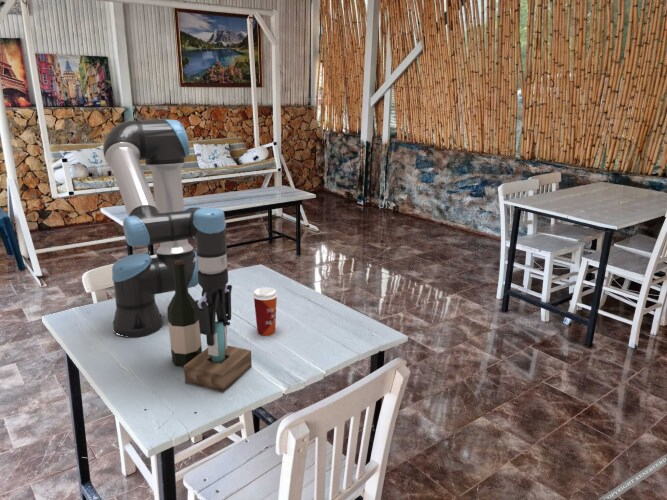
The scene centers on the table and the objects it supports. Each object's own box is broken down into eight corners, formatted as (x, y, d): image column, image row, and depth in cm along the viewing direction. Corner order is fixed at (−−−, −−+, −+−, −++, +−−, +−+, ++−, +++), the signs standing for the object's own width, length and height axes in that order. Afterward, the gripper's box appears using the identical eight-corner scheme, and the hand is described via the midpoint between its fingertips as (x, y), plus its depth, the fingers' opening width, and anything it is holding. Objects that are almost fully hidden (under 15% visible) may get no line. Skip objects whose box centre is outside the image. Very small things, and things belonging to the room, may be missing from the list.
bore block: (185, 382, 139) (183, 365, 138) (215, 357, 152) (214, 342, 150) (223, 392, 135) (222, 375, 133) (251, 366, 147) (251, 350, 146)
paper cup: (274, 338, 163) (273, 297, 159) (250, 336, 165) (249, 294, 160) (281, 327, 170) (280, 287, 166) (259, 325, 172) (257, 285, 168)
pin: (209, 369, 142) (206, 326, 138) (216, 363, 145) (214, 320, 141) (221, 372, 140) (218, 328, 136) (228, 365, 144) (225, 322, 140)
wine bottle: (186, 370, 145) (177, 268, 136) (165, 362, 149) (156, 262, 140) (208, 357, 152) (201, 259, 142) (188, 350, 156) (180, 254, 146)
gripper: (205, 282, 125) (211, 368, 132) (242, 261, 140) (246, 340, 147) (179, 277, 128) (187, 362, 135) (218, 257, 142) (223, 335, 150)
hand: (217, 350), depth 141 cm, fingers closed on pin, 3 cm apart
